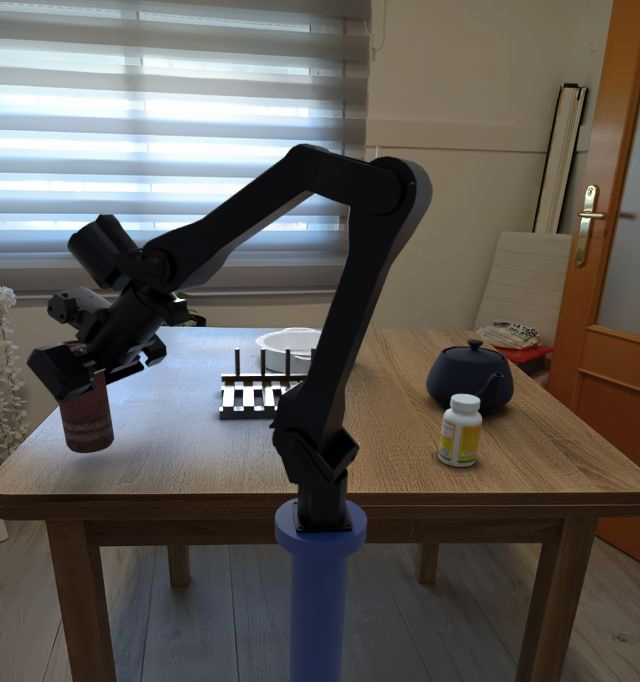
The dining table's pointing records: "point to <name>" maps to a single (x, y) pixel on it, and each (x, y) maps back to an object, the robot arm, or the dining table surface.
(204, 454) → the dining table surface
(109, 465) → the dining table surface
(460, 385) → the teapot
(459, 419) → the supplement bottle
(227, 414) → the dish rack
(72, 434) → the can
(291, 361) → the pot
